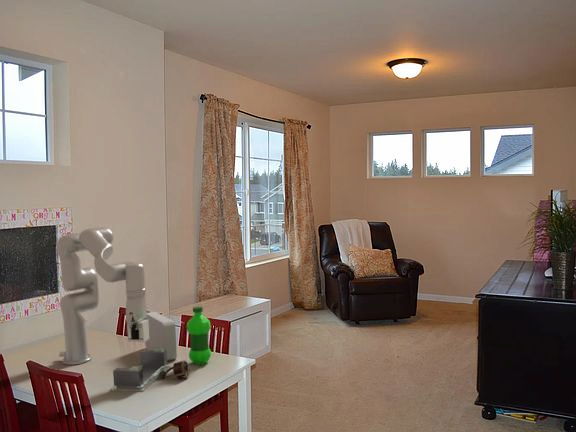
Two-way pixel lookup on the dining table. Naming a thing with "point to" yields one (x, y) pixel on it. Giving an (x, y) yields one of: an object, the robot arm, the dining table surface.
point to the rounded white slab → (161, 334)
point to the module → (140, 331)
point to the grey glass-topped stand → (141, 371)
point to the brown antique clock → (177, 370)
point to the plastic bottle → (199, 337)
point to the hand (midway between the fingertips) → (138, 336)
